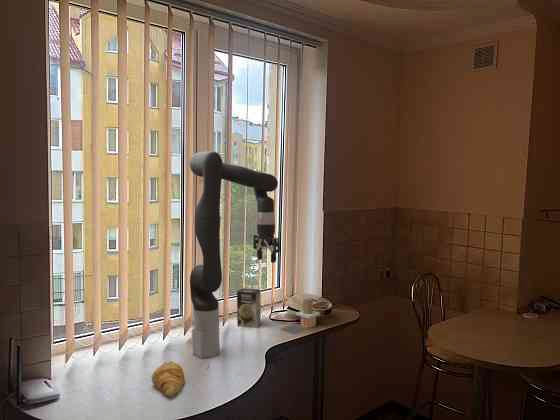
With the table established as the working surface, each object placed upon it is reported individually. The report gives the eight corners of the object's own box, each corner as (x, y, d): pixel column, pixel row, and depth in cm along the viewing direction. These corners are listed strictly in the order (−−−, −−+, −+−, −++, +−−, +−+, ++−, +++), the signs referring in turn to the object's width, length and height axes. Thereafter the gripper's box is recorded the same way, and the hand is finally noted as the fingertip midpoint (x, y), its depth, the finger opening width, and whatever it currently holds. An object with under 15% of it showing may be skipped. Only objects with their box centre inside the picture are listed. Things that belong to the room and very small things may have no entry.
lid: (308, 318, 199) (308, 303, 198) (295, 314, 205) (295, 299, 204) (320, 314, 204) (320, 299, 204) (307, 311, 210) (307, 296, 209)
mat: (294, 335, 193) (294, 334, 193) (280, 330, 199) (280, 329, 199) (308, 330, 199) (308, 329, 199) (294, 325, 205) (294, 324, 205)
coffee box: (236, 327, 204) (236, 291, 202) (242, 323, 210) (241, 287, 208) (256, 329, 201) (255, 292, 200) (261, 324, 207) (260, 289, 206)
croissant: (181, 408, 143) (192, 384, 143) (150, 398, 140) (162, 374, 140) (174, 378, 163) (185, 357, 163) (147, 368, 160) (158, 347, 160)
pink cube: (308, 329, 200) (308, 318, 200) (297, 325, 205) (297, 314, 205) (318, 325, 205) (318, 314, 204) (307, 322, 209) (307, 311, 209)
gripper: (248, 222, 198) (248, 260, 199) (270, 224, 188) (271, 264, 189) (261, 220, 203) (262, 257, 205) (284, 223, 193) (284, 262, 194)
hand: (266, 260), depth 197 cm, fingers open, 8 cm apart
